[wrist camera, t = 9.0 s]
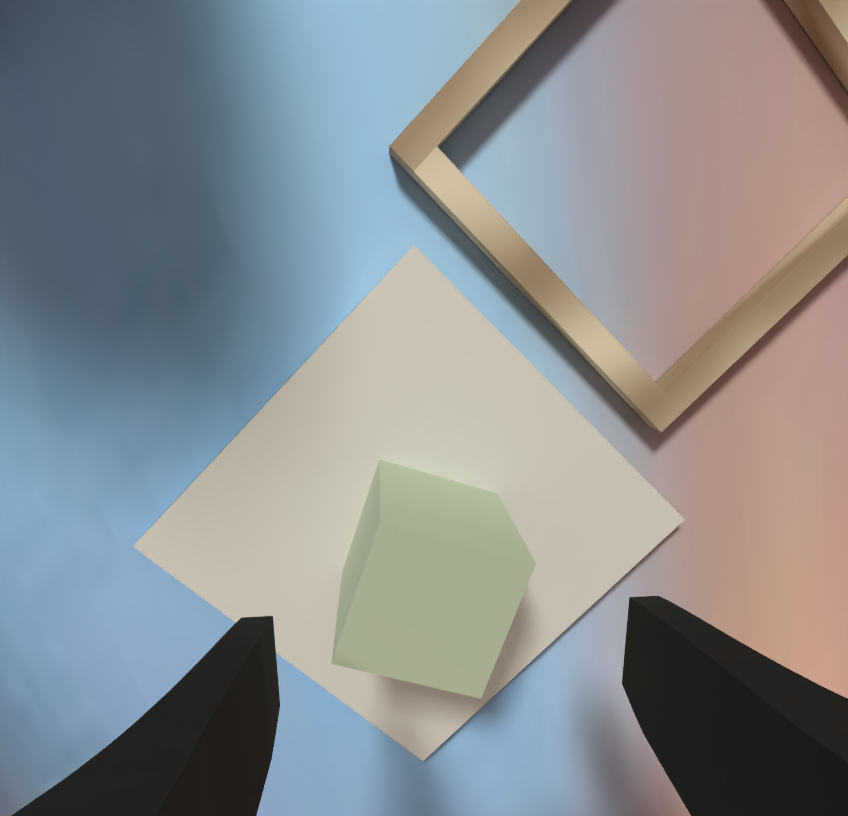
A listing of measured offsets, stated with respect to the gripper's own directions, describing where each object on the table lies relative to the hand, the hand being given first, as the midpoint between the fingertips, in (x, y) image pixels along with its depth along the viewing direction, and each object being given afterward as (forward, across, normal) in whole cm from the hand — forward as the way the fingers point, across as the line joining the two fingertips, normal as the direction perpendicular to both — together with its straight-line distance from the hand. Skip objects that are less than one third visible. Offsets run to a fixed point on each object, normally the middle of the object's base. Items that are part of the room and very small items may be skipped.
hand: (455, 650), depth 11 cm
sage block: (+9, 0, +2) cm, 9 cm away
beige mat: (+9, 0, +2) cm, 9 cm away
